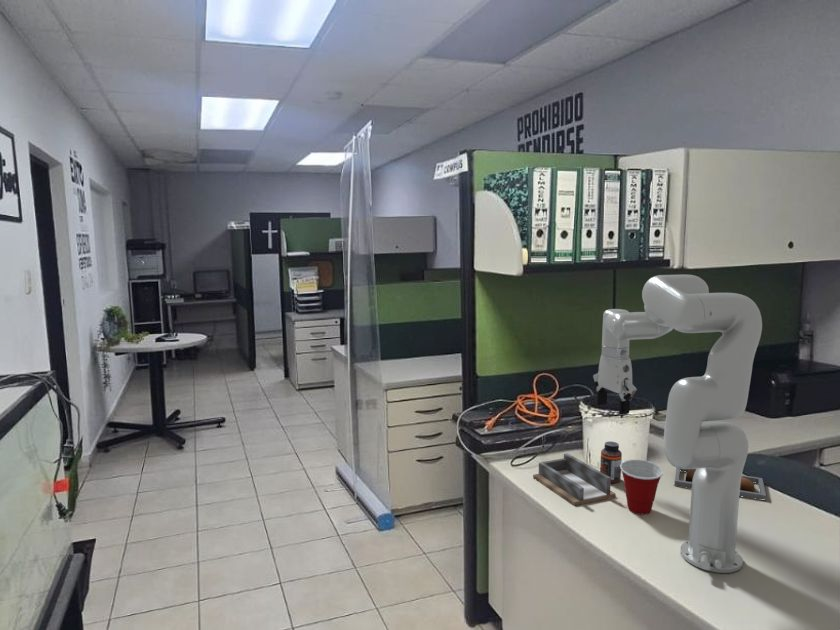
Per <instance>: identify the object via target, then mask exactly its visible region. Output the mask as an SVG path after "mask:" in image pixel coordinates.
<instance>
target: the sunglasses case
mask: <svg viewBox="0 0 840 630" xmlns="http://www.w3.org/2000/svg"><path fill="white" fill-rule="evenodd" d="M695 471H696V470H690V471H688V472H687V473H686V474H685V479H684V481H687V482H692V480H693V476H694V473H695ZM755 488H756V487H755V483H753V482H752V481H750V480H748V479H746V478H744V477H741V484H740V490H742V491H748V492H755V490H756V489H755Z"/></svg>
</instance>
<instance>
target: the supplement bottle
mask: <svg viewBox="0 0 840 630" xmlns="http://www.w3.org/2000/svg"><path fill="white" fill-rule="evenodd" d="M619 448H620V446H619V443H618V442H615V441H605V442H604V448H602V449H601V450H600V451H601V452H600V469H599V471H600V472H602V473H604V474H605V475H607V476H609V477H611V484H617V483H619V482H620V481H621V478H622V476H621V475H622V470H621V469H620V464H621V463H622V462H623V461H622V457H623V456H622V455H623V454H622V451H621V450H620V449H619Z"/></svg>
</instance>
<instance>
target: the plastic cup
mask: <svg viewBox="0 0 840 630" xmlns="http://www.w3.org/2000/svg"><path fill="white" fill-rule="evenodd" d="M620 469H621V475H622V478H623V483H624V490H625V491H624V492H625V497H626V506H627V509H628V510H629V511H630V512H631V513H633V514H638V515H649V514H650V513H652V509H653V505H654V502H655V498H656V495H657V490H658V486H659V483H660V480H661V478H662V476H663V475H664V469H663V467H662V466H660V465H659V464H657V463H655V462H652V461H650V460H646V459H645V460H644V459H637V458H636V459H628V460H623V461H621V464H620Z"/></svg>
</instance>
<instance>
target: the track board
mask: <svg viewBox="0 0 840 630" xmlns="http://www.w3.org/2000/svg"><path fill="white" fill-rule="evenodd" d="M532 478H533V479H534V480H535V479H536V480H535V481H537V482H538V483H540V484H541V485H543V486H544V487H545V488H548V489H549V490H550V491H551V492H553V493H554V494H556V495H558V497H561V498H562V499H563V500H564V501H566V502H568V503H569V504H570V505H572V506H573V507H575V506H579V505H583V504H584V505H585V504H588V503H593V502H597V501H598V502H599V501H602V500H607V499H612V498H616V497H617V495H616V494H617V493H615V492H614V491H612V490H611V484H612V483H611V477H609V476H607V475H605V474H604V473H602V472H600V470H598V469H596V468H594V467H593V466H591V465H589V464H587V463H586V462H584V461H582V460H580V459H578V458H577V457H575V456H573V455H571V454H570V453H567V452H566V453H563V458H559V459H552V460H546V461H542V462H538V473H536V474H535V473H534V474H533V475H532Z"/></svg>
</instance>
